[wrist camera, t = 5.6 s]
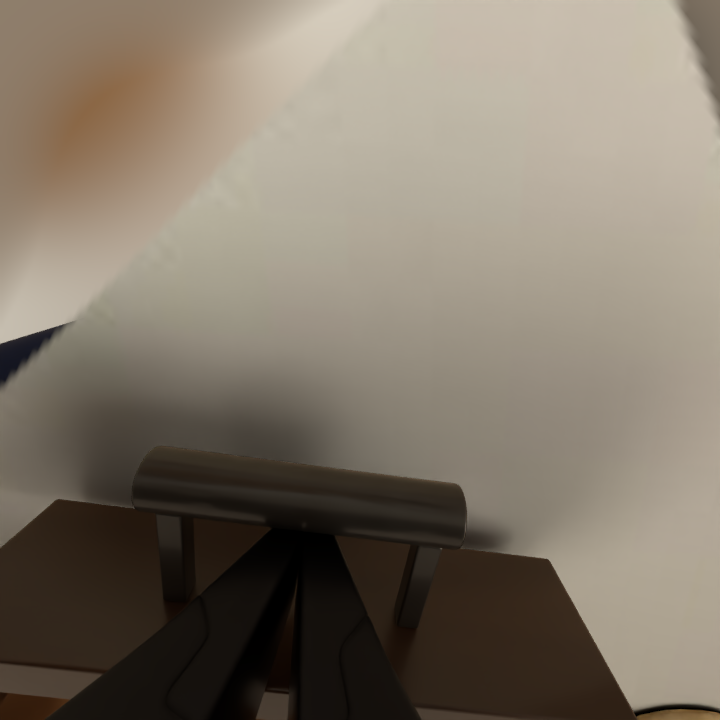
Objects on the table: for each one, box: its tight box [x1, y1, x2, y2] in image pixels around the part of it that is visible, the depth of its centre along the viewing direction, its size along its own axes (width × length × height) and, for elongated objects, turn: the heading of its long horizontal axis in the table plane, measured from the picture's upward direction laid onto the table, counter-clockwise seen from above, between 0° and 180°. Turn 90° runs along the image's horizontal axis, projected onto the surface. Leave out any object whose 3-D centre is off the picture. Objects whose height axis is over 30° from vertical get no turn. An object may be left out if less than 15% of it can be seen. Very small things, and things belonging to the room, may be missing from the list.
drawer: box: [0, 446, 638, 720], centre depth 11 cm, size 20×16×4 cm
